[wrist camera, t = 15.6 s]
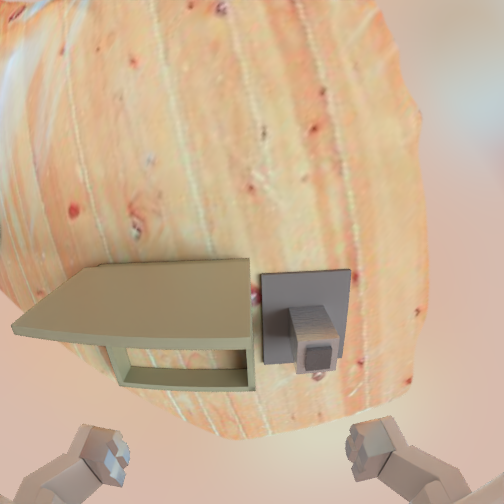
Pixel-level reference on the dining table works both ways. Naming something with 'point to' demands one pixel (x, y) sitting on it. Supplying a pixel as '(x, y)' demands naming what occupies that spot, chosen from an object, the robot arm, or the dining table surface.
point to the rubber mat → (298, 295)
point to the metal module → (312, 339)
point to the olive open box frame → (155, 318)
